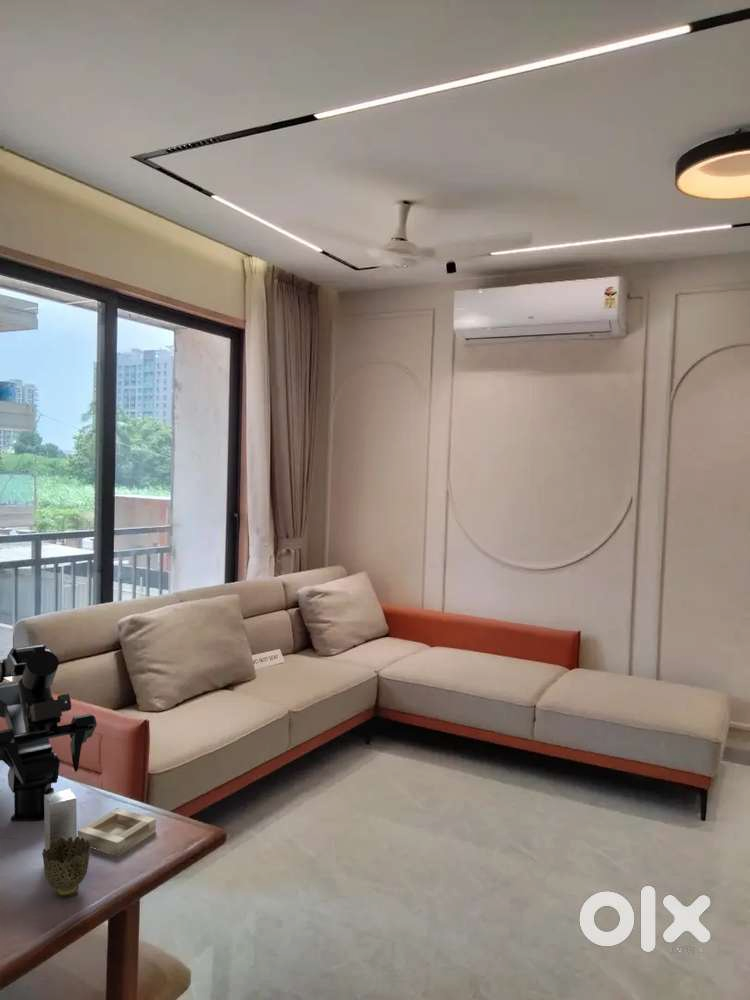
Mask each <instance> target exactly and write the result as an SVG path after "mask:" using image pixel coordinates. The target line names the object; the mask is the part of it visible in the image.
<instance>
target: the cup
mask: <svg viewBox="0 0 750 1000" xmlns="http://www.w3.org/2000/svg"><path fill="white" fill-rule="evenodd" d="M90 845H91V842H90V843H89V840H87V841H86V843H85V840H84V838H83V837H82V838H81V840H80V838H79V837H78V836H77V837H76V838H75V840H74V842H73V840H72V837H69V838H68V840H67V841H65V839H63V838H60V839H58V840H57V841H56V842H55V843H54V842H51V843H50V848H49V849H47V851H46V849H45V848H43V849H42V852H41V854H42V859H43V861H42V862H43V867H44V874H45V878H46V881H47V883H48V884H49V886H50V887H51V888H52V889H54V890H55V891H54V892H55V895H56V896H57V897H58V898H61V899H63V898H64V899H65V898H67V899H68V898H70V897H73V896H74V895H76V893H78V891H79V888H80V884H81V883H82V882H83V881H84V879H85V877H86V876H87V872H88V869H89V862H90V861H89V860H90V851H91V848H90Z"/></svg>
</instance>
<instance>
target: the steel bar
mask: <svg viewBox="0 0 750 1000" xmlns="http://www.w3.org/2000/svg"><path fill="white" fill-rule="evenodd" d="M77 818H78V816H77V797H76V795H75V794H74V792H73V791H72V789H71V788H67V789H64V790H63V789H62V790H59V791H54V793H50V794H46V795H44V819H43V820H44V849H46V851H47V849H49V848H50V843H51V842H54V843H55V842H56V841H57V840H58V839H60V838H63V839H65V841H67V840H68V838H69V837H72V840H73V842H74V840H75V838H76V837H78V830H77V829H78V828H77V827H78V826H77V825H78V824H77V823H78V822H77V821H78V820H77Z"/></svg>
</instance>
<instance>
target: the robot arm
mask: <svg viewBox="0 0 750 1000" xmlns="http://www.w3.org/2000/svg"><path fill="white" fill-rule="evenodd" d="M59 662H60V661H59V658H58V657H57V656H56V654H54V653H53V652H51V650H50V649H49V648H47V646H46V644H44V643H40V644H33V645H27V646H26V645H23V646H18V647H13V648H11V649H10V651H9V653H8V654H7V658H3V659H2V660H0V718H3V719H5V720H4V721H5V722H6V727H7V729H1V730H0V762H1V761H2V762H3V763H4V764H5V765H7V766H8V768H9V769H8V772H7V784H8V787H9V789H10V790H11V792H12V794H14V795H13V796H14V797H13V798H14V799H13V800H14V801H13V803H14V806H13V807H14V809H13V810H14V814H13V815H12V816H10V821H43V820H45V819H44V795H46V794H50V793H54V792H55V789H54V787H52V784H56V783H58V779H59V774H60V773H59V770H60V765H61V759H60V758H59V756H58V754H57V753H56V752H54V749H53V746H52V745H51V743H50V740H49V739H54V738H58V737H63V736H67V735H68V736H69V737H70V739H71V740H70V742H69V745H70V753H71V761H72V762H71V763H72V767H73V769H74V772H75V773H77V772H78V771H79V765H80V757H81V751H82V747H83V744H85V743H87V740H88V739H91V737H92V736H93V735H94V732H95V729H96V727H97V723H98V722H97V719H96V716H94V715H93V714H92V713H85V714H81V715H75V716H73V717H72V719H71V722H70V723H68V724H63V725H59V723H61V721H62V720H61V719H62V718H61V717H62V716H63V713H66V712H69V711H71V710H72V702H71V701H72V700H71V696H70V693H63V694H59V695H58V696H57V699H54V697H53V693H52V689H51V686H52V685H53V683H54V679H55V677H56V674H57V671H58V668H59ZM20 676H22V677H21V678H20V680H19V681H13V682H5V683H3V681H4V680H5V679H4V678H9V677H10V678H11V677H20Z"/></svg>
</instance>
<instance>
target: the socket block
mask: <svg viewBox="0 0 750 1000" xmlns="http://www.w3.org/2000/svg"><path fill="white" fill-rule="evenodd" d="M156 821H157V820H156V818H154V817H151V816H147V815H145V814H141V813H136V812H133V811H130V810H126V809H123V808H119V807H116V808H115V809H112V810H111V811H109V812H107V813H106V814H104V815H101V816H100V817H98V818H97V819H94V821H91V822H90V823H89V824H86V825H85V826H83V827H81V828H80V829H78V830H77V837H79V838H80V840H81V838H82V837H83V838H84V840H85V843H86V841H87V840H89V843H90V842H91V845H90V847H93V848H96V849H99V850H102V851H104V852H103V853H105V852H108V853H110V854H109V855H111V854H114V855H116V856H115V857H117V856H118V857H120V856H121V855H123V854H124V853H126V852H127V851H128V850H130V849H132V848H133V847H135V846H137V844H139V843H141V842H142V841H144V840H145V839H147V838H148V836H149V837H151V835H153V834H155V833H156V832H157V831H156V830H157V824H156V823H157V822H156ZM93 848H92V849H93ZM96 849H95V850H96ZM99 850H98V851H99ZM102 851H101V852H102ZM125 851H126V852H125ZM108 853H107V854H108ZM122 853H123V854H122ZM114 855H113V856H114ZM119 855H120V856H119Z"/></svg>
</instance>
